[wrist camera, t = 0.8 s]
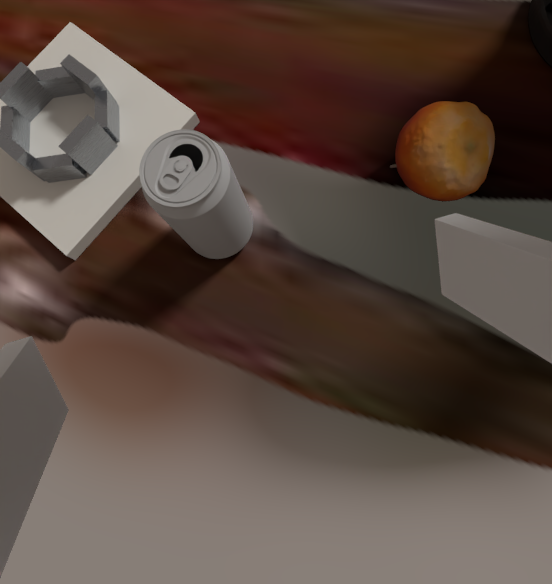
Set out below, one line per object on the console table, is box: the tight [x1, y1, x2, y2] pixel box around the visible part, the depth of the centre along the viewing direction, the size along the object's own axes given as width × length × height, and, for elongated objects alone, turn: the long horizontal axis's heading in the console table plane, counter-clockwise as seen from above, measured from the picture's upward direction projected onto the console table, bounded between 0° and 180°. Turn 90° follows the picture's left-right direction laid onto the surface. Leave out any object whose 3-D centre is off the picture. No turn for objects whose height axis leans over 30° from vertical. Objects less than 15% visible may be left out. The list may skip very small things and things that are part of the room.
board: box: [0, 22, 199, 260], centre depth 44 cm, size 18×18×2 cm
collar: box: [0, 54, 120, 183], centre depth 42 cm, size 10×10×4 cm
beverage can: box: [139, 129, 253, 259], centre depth 35 cm, size 6×6×12 cm
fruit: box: [390, 101, 495, 201], centre depth 38 cm, size 8×8×8 cm
